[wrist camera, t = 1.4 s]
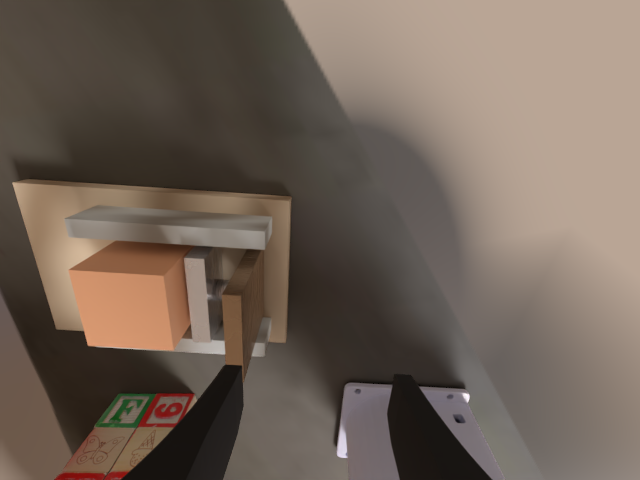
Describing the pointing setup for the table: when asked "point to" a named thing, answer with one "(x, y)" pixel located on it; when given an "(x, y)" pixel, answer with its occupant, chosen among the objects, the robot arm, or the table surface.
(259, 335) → the channel deck
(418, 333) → the table surface
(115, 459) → the stack of blocks
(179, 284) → the terracotta block
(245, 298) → the sliding carriage
